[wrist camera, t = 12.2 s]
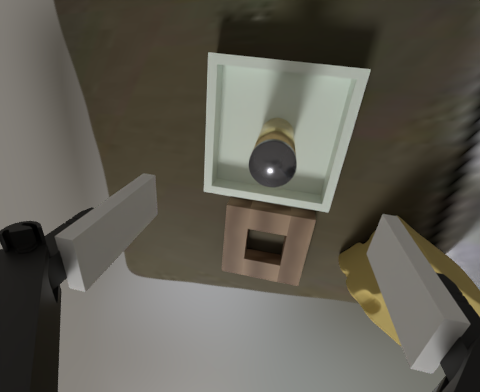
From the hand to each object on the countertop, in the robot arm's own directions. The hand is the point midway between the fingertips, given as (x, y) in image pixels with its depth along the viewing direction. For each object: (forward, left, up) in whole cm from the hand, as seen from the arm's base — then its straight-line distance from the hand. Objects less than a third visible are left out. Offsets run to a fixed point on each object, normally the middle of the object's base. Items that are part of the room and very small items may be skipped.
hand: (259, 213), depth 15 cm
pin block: (-1, +16, -20) cm, 25 cm away
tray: (0, 0, -20) cm, 20 cm away
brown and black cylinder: (0, 0, -19) cm, 19 cm away
